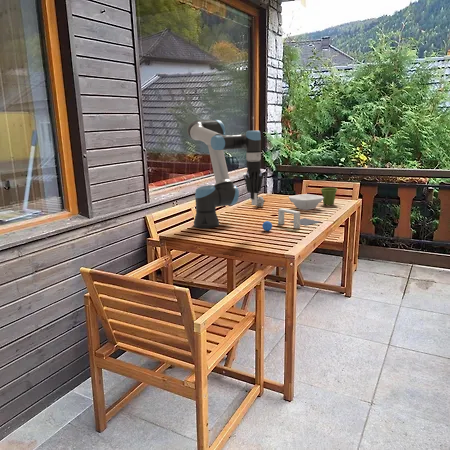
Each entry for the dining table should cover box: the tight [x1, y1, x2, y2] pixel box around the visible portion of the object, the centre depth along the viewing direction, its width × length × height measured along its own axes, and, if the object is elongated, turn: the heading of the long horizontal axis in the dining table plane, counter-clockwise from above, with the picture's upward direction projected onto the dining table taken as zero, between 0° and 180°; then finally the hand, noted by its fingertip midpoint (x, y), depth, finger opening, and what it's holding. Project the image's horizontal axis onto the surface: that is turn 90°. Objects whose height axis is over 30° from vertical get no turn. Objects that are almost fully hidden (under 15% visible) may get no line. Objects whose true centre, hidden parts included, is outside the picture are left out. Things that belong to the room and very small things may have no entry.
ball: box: [262, 220, 273, 232], centre depth 230 cm, size 6×6×6 cm
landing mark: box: [289, 217, 321, 226], centre depth 249 cm, size 13×13×1 cm
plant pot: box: [320, 187, 338, 206], centre depth 298 cm, size 12×12×11 cm
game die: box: [255, 195, 266, 208], centre depth 296 cm, size 9×8×10 cm
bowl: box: [288, 193, 324, 211], centre depth 285 cm, size 21×21×9 cm
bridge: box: [277, 207, 301, 229], centre depth 240 cm, size 3×14×9 cm, turn 37°
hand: (254, 204), depth 222 cm, fingers closed
